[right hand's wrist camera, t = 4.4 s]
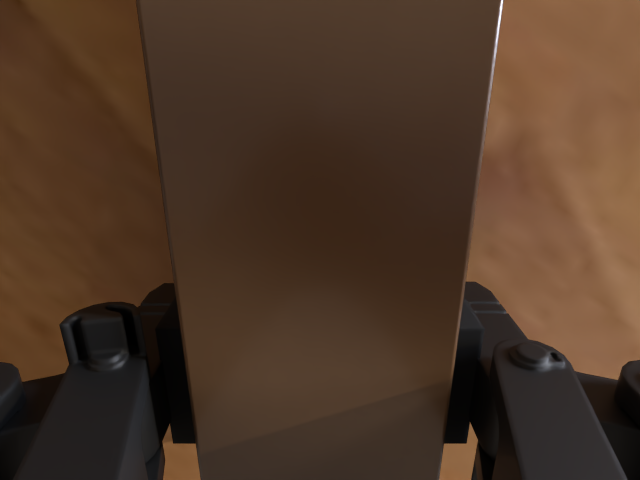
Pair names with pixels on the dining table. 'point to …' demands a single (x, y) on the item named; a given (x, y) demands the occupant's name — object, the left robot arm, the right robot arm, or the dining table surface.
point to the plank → (319, 222)
